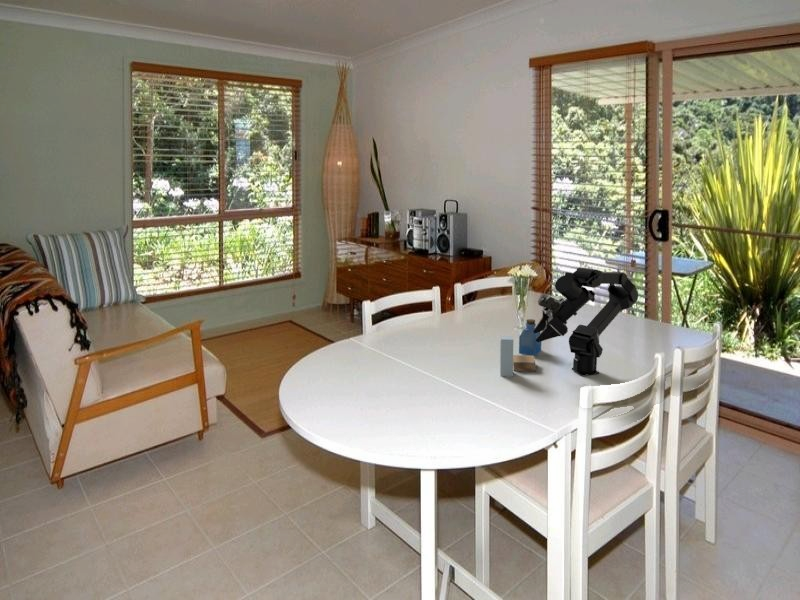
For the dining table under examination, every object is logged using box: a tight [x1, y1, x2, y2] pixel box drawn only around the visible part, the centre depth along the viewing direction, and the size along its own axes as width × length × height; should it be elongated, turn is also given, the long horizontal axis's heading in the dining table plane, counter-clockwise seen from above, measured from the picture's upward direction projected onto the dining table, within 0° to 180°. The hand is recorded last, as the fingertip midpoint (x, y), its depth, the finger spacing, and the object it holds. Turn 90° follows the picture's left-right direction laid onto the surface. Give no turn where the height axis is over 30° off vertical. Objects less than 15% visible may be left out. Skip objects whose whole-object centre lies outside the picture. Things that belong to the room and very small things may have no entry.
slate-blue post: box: [499, 335, 514, 377], centre depth 183 cm, size 4×4×12 cm
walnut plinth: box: [513, 354, 536, 372], centre depth 189 cm, size 7×7×3 cm
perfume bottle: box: [518, 318, 542, 357], centre depth 204 cm, size 6×6×12 cm
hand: (535, 336), depth 180 cm, fingers open, 9 cm apart
